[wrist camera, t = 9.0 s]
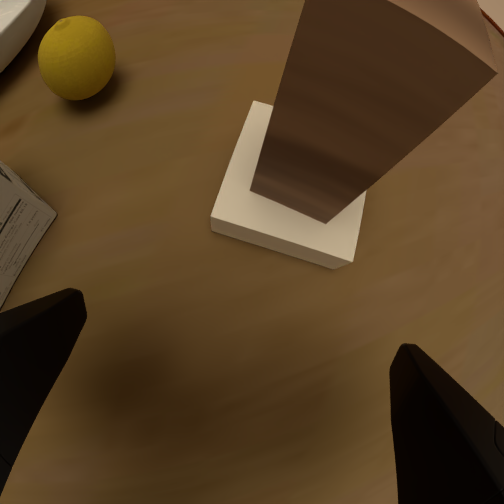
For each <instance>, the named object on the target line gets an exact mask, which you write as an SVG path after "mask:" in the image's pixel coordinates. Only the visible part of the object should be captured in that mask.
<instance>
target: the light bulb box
mask: <svg viewBox="0 0 504 504" xmlns="http://www.w3.org/2000/svg"><path fill="white" fill-rule="evenodd" d="M56 215H57V213H56V212H55V211H54V210H53V209H52V208H51V207H50V206H49V205H48V204H47V203H46V202H45V201H44V200H43V199H42V198H40V197H39V196H38V195H37V194H36V193H35V192H34V191H33V190H32V189H31V188H30V187H29V186H28V185H27V184H26V183H25V182H24V181H23V180H22V179H21V178H20V177H19V176H18V175H17V174H16V173H15V172H14V171H12V170H11V169H10V168H9V167H8V166H6V165H5V164H4V163H3V162H1V161H0V308H1V306H2V304H3V302H4V300H5V298H6V297H7V295H8V293H9V291H10V289H11V287H12V285H13V284H14V282H15V280H16V278H17V277H18V275H19V273H20V271H21V270H22V268H23V266H24V265H25V263H26V261H27V260H28V258H29V256H30V255H31V253H32V252H33V250H34V248H35V247H36V245H37V244H38V242H39V241H40V239H41V238H42V236H43V234H44V233H45V231H46V230H47V228H48V227H49V226H50V224H51V223H52V221H53V220H54V218H55V217H56Z"/></svg>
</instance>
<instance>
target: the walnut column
mask: <svg viewBox="0 0 504 504" xmlns="http://www.w3.org/2000/svg"><path fill="white" fill-rule="evenodd" d="M497 74H498V72H497V68H496V63H495V59H494V55H493V51H492V47H491V43H490V39H489V36H488V32H487V29H486V26H485V23H484V19H483V16H482V13H481V10H480V8H479V5H478V2H477V0H305V3H304V6H303V10H302V13H301V16H300V19H299V23H298V26H297V29H296V32H295V36H294V39H293V42H292V46H291V49H290V52H289V56H288V59H287V62H286V66H285V69H284V72H283V76H282V79H281V82H280V86H279V89H278V93H277V96H276V99H275V103H274V106H273V110H272V113H271V117H270V120H269V124H268V127H267V131H266V134H265V138H264V141H263V145H262V148H261V152H260V155H259V159H258V162H257V166H256V169H255V173H254V176H253V180H252V184H251V187H250V191H251V192H254V193H256V194H258V195H261V196H263V197H265V198H268V199H270V200H272V201H275V202H277V203H279V204H282V205H284V206H286V207H288V208H291V209H293V210H295V211H297V212H300V213H302V214H304V215H306V216H309V217H311V218H313V219H315V220H317V221H320V222H322V223H324V224H327V223H328V222H329V221H330V220H331V219H333V218H334V217H335V216H336V215H337V214H339V213H340V212H341V211H342V210H343V209H344V208H346V207H347V206H348V205H349V204H350V203H352V202H353V201H354V200H355V199H356V198H357V197H359V196H360V195H361V194H362V193H363V192H365V191H366V190H367V189H368V188H369V187H370V186H372V185H373V184H374V183H375V182H376V181H377V180H379V179H380V178H381V177H382V176H383V175H384V174H386V173H387V172H388V171H389V170H390V169H391V168H393V167H394V166H395V165H396V164H397V163H398V162H399V161H401V160H402V159H403V158H404V157H405V156H406V155H407V154H409V153H410V152H411V151H412V150H413V149H414V148H416V147H417V146H418V145H419V144H420V143H421V142H422V141H423V140H425V139H426V138H427V137H428V136H429V135H430V134H431V133H433V132H434V131H435V130H436V129H437V128H438V127H439V126H440V125H442V124H443V123H444V122H445V121H446V120H447V119H448V118H449V117H450V116H452V115H453V114H454V113H455V112H456V111H457V110H458V109H459V108H460V107H462V106H463V105H464V104H465V103H466V102H467V101H468V100H469V99H470V98H472V97H473V96H474V95H475V94H476V93H477V92H478V91H479V90H480V89H481V88H482V87H484V86H485V85H486V84H487V83H488V82H489V81H490V80H491V79H492V78H493V77H494V76H495V75H497Z"/></svg>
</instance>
